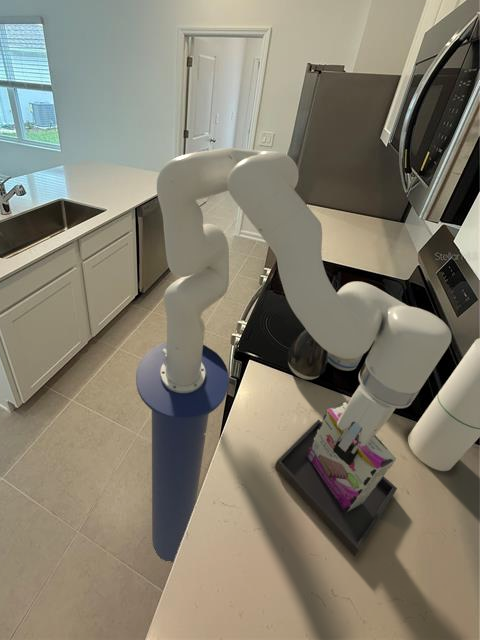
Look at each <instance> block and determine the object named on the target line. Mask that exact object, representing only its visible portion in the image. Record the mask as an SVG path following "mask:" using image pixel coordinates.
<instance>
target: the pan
mask: <svg viewBox="0 0 480 640" xmlns="http://www.w3.org/2000/svg"><path fill="white" fill-rule="evenodd" d="M321 422H322V420H320V419H317V420H316V421H315V422H314V423H313V424H312V425H311V426H310V427H309V428H308V429H307V430H306V431H305V432H304V433H303V434H302V435H301V436H300V437H299V438H298V439H297V440H296V441H295V442H294V443H293V444H292V445H291V446H290V447H289V448H288V449H287V450H286V451H285V452H284V453H283V454H282V455H281V456H280V457H278V459H277V460H276V463H275V465H274V468H275V470H276V471H277V472H278V474H280V475H281V477H282V478H283V479H284V480H285V481H286V482H287V483H288V485H290V486H291V488H292V489H293V490H294V491H295V492H296V493H297V494H298V496H299V497H300V498H301V499H302V500H303V501H304V502H305V503H306V504H307V506H309V508H310V509H311V510H312V511H313V513H315V515H316V516H318V518H319V519H320V520H321V521H322V522H323V523H324V524H325V526H326V527H327V528H328V529H329V530H330V531H331V532H332V534H333V535H334V536H335V537H336V538H337V539H338V540H339V541H340V542H341V543H342V545H344V547H345V548H346V549H347V550H348V552H350V553H351V554H352V556H353V557H356V556H357V555H358V554H359V552H360V551H361V549H362V547H363V546H364V544H365V543H366V540H367V539H368V537H369V536H370V534H371V533H372V531H373V529H374V528H375V526H376V524H377V522H378V521H379V520H380V518H381V516H382V514H383V513H384V512H385V509H386V508H387V506H388V504H389V503H390V502H391V500H392V498H393V497H394V494H395V493H396V491H397V490H398V487H396V486H395V485H394V484H393V483H392V482H391V481H389V480H388V479H387V477H385V475H384V476H383V477H382V479H381V480H380V481H379V483H378V484H377V485H376V487H375V488H374V489H373V491H372V492H371V493H370V495H369V496H368V497H367V499H366V500H365V502H364V503H363V504H361V505H359V506H357V507H355V508H353V509H351V510H350V511H348V512H346V513H345V512H344V510H343V509H342V507H341V506H340V504H339V503H338V501H337V500H336V498H335V497H334V496H333V494H332V493H331V491H330V490H329V488H328V487H327V485H326V484H325V482H324V481H323V479H322V478H321V476H320V475H319V474H318V472H317V471H316V469H315V468H314V466H313V465H312V463H311V462H310V461H309V459H308V458H307V456H306V455H307V452H308V450H309V448H310V446H311V444H312V442H313V440H314V437H315V435H316V433H317V431H318V429H319V427H320V424H321Z"/></svg>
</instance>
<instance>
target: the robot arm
mask: <svg viewBox="0 0 480 640" xmlns="http://www.w3.org/2000/svg"><path fill="white" fill-rule="evenodd" d="M299 173H300V171H299V168H298V166H297V163H296V162H295V161H294V159H293V158H292V157H290V156H289V155H288V154H286V153H285V152H282V151H278V150H261V149H249V148H247V149H246V148H237V147H234V148H233V147H223V148H215V149H211V150H203V151H195V152H191V153H186V154H182V155H180V156H177V157H175V158H172V159H170V160H169V161H167V162H166V163H165V164H164V165H163V166H162V167H161V169H160V170H159V172H158V176H157V178H156V194H157V200H158V204H159V207H160V210H161V215H162V222H163V234H164V235H163V236H164V247H165V255H166V262H167V266H168V269H169V271H170V272H171V274H172V275H174V276H176V277H179V278H178V279H176V280H175V281H174V282H172V283H170V285H168V287H167V288H166V289H165V291H164V292H163V293H164V294H163V304H164V309H165V312H166V342H167V344H166V347H167V350H166V349H163V350H162V353H163V354H164V355H165V362H164V363H163V364H162V366H161V370H160V376H161V380H162V382H163V384H164V385H165V386H166V387H167V388H168V389H170V390H172V391H174V392H177V393H190V392H193V391H195V390H197V389H198V388H199V387H201V385H202V384H203V382H204V380H205V375H206V371H205V367H204V365H203V364H202V362H201V360H202V351H203V345H204V342H205V341H204V340H205V329H206V325H205V322H204V319H203V318H202V315H203V313H204V312H205V311H206V310H207V309H209V308H210V307H211V306H213V305H214V304H215V303H217V302H218V301H219V300H221V299H222V298H223V297H224V296H226V294H227V291H228V289H229V285H230V284H229V283H230V247H229V242H228V239H227V236H226V235H225V232H224V231H223V230H222V229H221V228H220V227H219V226H217V225H215V224H212V223H204V214H203V211H202V208H201V207H200V204H199V203H198V201H199V200H202V199H207V198H209V197H212V196H216V195H219V194H223V193H225V192H229V194H230V197H231V198H232V200H234V202H235V203H236V205H237V206H238V207H239V208H240V210H241V211H242V212H243V213H244V215H245V217H246V218H247V219H248V221H249V222H250V223H251V225H253V227H254V228H255V229H256V231H257V232H258V234H260V236H261V237H262V238H263V240H264V242H266V244H267V245H268V246H269V248H270V249H271V251H272V252H273V253H274V256H275V258H276V263H277V264H276V265H277V269H278V274H279V278H280V281H281V285H282V289H283V293H284V295H285V298H286V301H287V303H288V305H289V307H290V308H291V310H292V312H293V314H294V315H295V316H296V318H297V319H298V320H299V322H300V323H301V325H302V326H303V328H305V329H306V330H307V331H308V332H309V334H310V335H311V336H312V337H313V338H314V340H315V341H316V342H317V343H318V344H319V345H320V346H321V347H323V348H324V349H325V350H326V351H328V352H329V353H331V354H333V355H335V356H337V357H341V358H346V359H351V358H357V357H359V356H361V355H363V356H364V354H366V353H367V352H368V351H369V352H368V353H367V356H366V358H365V360H364V362H363V365H362V366H361V368H360V371H359V373H358V382H359V385H358V386H357V388H356V390H355V391H354V393H353V394H352V396H351V398H350V399H349V400H348V403H347V406H346V408H345V410H344V411H343V413H342V415H341V417H340V418H339V420H338V422H337V427H338V428H340V429H341V430H345V431H344V432H343V434H342V436H340V437H339V439H338V441H337V443H336V445H335V447H334V449H333V451H334V452H335V453H336V454H337V455H338V457H339V458H340V459H341V460H343V461H344V462H345V463H346V464H348V465H351V463H352V462H353V460H354V458H355V457H356V455H357V453H358V451H357V449H358V448H359V446H365V445H366V444H367V443H368V442H369V441H370V440H371V439H372V438H373V437H374V435H375V436H376V434H377V433H378V432H379V431H381V429H382V428H383V427H384V426H385V424H386V423H387V421H388V420H389V419H390V417H391V416H392V415H393V413H394V412H395V410H396V409H406V408H408V407H410V406H411V405H412V403H413V401H414V400H415V398H416V397H417V395H418V394H419V393H420V391H421V389H422V388H423V386H424V385H425V383H426V382H427V380H428V379H429V377H430V376H431V374H432V373H433V371H434V370H435V368H436V366H437V365H438V363H439V362H440V361H441V359H442V357H443V356H444V354H445V353H446V351H447V350H448V348H449V346H450V345H451V342H452V331H451V329H450V328H449V326H448V325H447V323H445V321H444V320H442V319H441V318H439V316H437V315H435V314H434V313H432V312H430V311H428V310H425V309H422V308H420V307H416V306H410V305H407V304H406V303H404V302H402V301H400V300H399V299H397V298H396V297H394V296H392V295H390V294H388V293H387V292H385V291H384V290H382V289H380V288H378V287H377V286H374V285H372V284H370V283H367V282H364V281H358V280H357V281H350V282H347V283H346V284H344V285H343V286H341V287H340V288H339V289H338V291H336V289H335V288H334V287H333V285H332V283H331V281H330V279H329V277H328V275H327V272H326V269H325V266H324V262H323V257H322V253H323V252H322V248H323V247H322V245H323V227H322V223H321V221H320V220H319V218H318V217H317V216H316V215H315V213H314V212H313V211H312V210H311V208H310V207H309V206H308V205H307V204H306V203H305V201H304V200H303V199H302V198H301V196H300V195H299V194H298V193H297V192H296V190H295V189H296V187H297V185H298V182H299V177H300V174H299ZM370 348H371V349H370ZM359 433H360V434H359ZM354 440H356V441H357V443H356V444H355V446H354V445H353V444H352V443H353V441H354Z"/></svg>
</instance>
